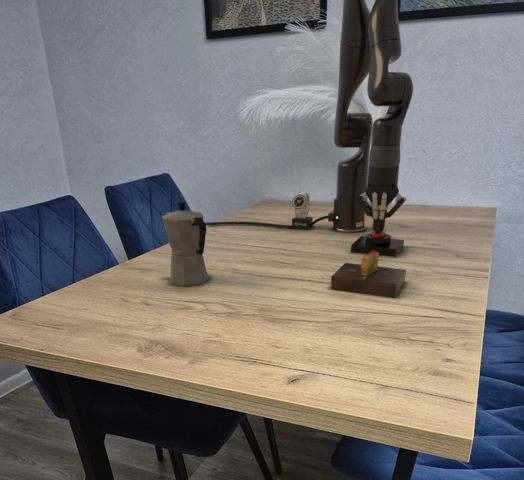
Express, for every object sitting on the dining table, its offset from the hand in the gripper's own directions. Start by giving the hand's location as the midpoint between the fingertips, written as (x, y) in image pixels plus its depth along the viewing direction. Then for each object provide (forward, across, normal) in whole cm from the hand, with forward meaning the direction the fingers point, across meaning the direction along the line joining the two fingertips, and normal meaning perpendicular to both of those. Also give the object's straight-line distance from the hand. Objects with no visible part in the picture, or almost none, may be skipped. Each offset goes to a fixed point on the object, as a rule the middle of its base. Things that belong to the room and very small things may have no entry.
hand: (378, 232), depth 126 cm
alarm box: (+5, 0, 0) cm, 5 cm away
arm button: (+2, 0, 0) cm, 2 cm away
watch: (+5, -29, +17) cm, 34 cm away
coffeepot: (+5, -34, -40) cm, 52 cm away
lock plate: (+5, +5, -28) cm, 29 cm away
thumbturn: (+2, +5, -28) cm, 28 cm away
